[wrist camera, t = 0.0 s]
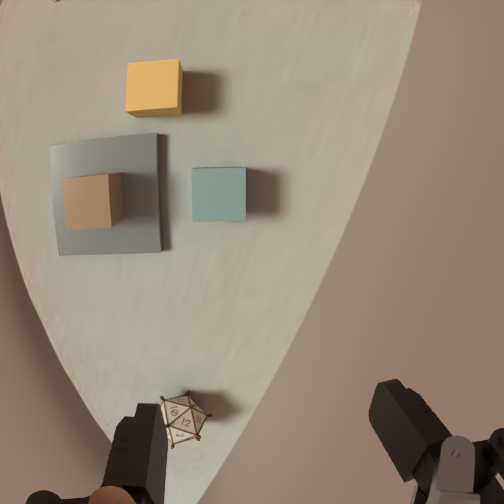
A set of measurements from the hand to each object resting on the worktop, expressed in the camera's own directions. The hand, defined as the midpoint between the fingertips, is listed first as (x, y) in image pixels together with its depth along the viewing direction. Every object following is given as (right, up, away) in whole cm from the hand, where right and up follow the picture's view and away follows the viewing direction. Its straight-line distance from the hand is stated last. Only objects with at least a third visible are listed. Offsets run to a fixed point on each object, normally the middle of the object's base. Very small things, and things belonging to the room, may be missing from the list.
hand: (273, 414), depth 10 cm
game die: (-12, -18, +35) cm, 41 cm away
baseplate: (-19, +13, +25) cm, 33 cm away
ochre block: (-12, +24, +22) cm, 35 cm away
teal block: (-5, +13, +26) cm, 30 cm away
